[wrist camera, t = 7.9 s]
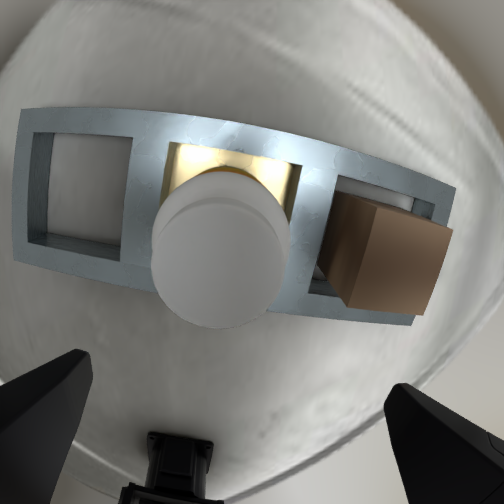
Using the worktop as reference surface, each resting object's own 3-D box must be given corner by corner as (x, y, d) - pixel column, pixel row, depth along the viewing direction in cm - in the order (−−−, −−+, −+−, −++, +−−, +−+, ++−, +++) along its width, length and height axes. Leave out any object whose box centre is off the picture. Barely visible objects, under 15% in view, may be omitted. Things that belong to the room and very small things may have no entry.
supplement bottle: (172, 175, 17) (106, 200, 8) (262, 158, 17) (295, 161, 8) (191, 261, 19) (157, 357, 10) (276, 245, 19) (316, 332, 10)
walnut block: (380, 275, 20) (423, 315, 15) (316, 264, 20) (347, 307, 14) (399, 207, 19) (453, 229, 13) (335, 190, 18) (377, 207, 13)
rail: (396, 309, 21) (411, 325, 19) (32, 249, 18) (13, 260, 16) (435, 183, 18) (456, 188, 16) (41, 111, 15) (21, 109, 13)
